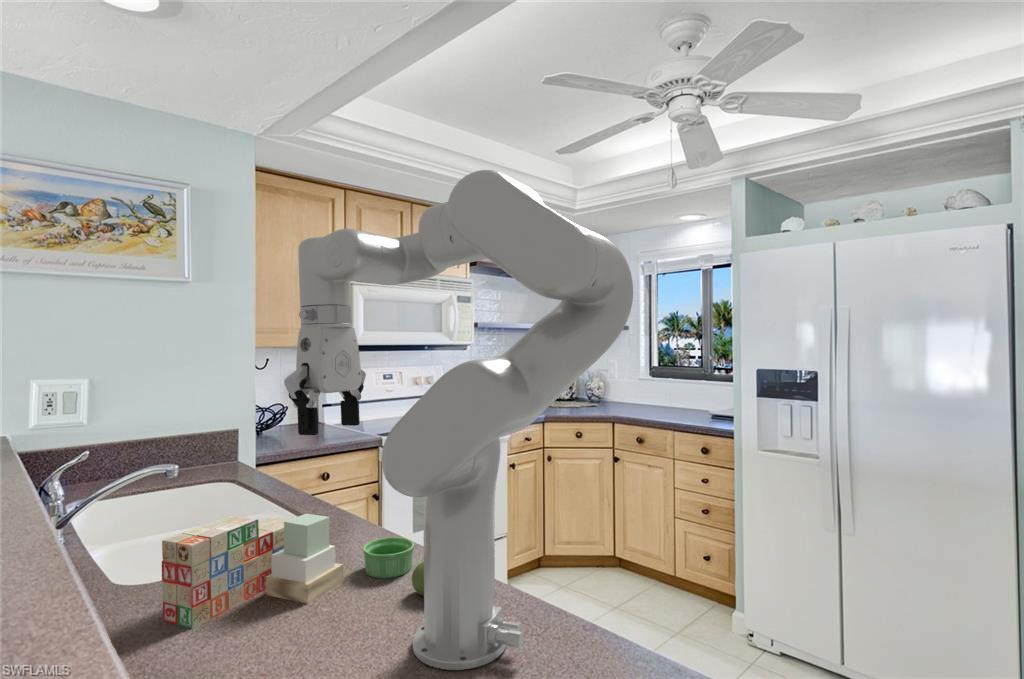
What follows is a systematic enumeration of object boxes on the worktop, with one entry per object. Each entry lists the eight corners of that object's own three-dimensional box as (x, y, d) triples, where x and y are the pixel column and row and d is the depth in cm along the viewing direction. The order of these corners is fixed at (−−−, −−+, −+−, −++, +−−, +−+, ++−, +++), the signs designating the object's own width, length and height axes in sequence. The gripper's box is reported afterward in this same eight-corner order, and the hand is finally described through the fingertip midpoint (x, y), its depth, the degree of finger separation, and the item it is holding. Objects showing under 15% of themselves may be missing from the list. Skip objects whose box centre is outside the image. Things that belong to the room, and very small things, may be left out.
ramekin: (398, 583, 95) (397, 557, 95) (352, 576, 98) (352, 551, 98) (423, 563, 104) (422, 539, 104) (380, 557, 107) (380, 534, 107)
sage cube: (329, 547, 95) (329, 517, 95) (307, 557, 90) (307, 525, 90) (306, 542, 97) (306, 513, 97) (283, 552, 92) (284, 521, 92)
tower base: (343, 584, 96) (343, 564, 96) (308, 607, 88) (307, 584, 88) (303, 577, 99) (303, 557, 99) (266, 598, 91) (266, 576, 91)
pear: (429, 551, 95) (477, 573, 90) (425, 581, 95) (473, 605, 90) (406, 562, 90) (456, 586, 85) (402, 593, 90) (451, 620, 85)
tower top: (335, 566, 95) (335, 545, 95) (305, 583, 89) (305, 561, 89) (302, 560, 98) (302, 540, 98) (271, 576, 91) (271, 554, 91)
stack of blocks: (273, 567, 103) (272, 499, 103) (300, 572, 100) (299, 503, 100) (161, 622, 83) (160, 538, 83) (191, 630, 81) (191, 544, 81)
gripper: (306, 315, 78) (310, 439, 78) (379, 319, 94) (383, 422, 94) (264, 318, 81) (268, 438, 80) (342, 322, 97) (346, 421, 96)
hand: (330, 429), depth 87 cm, fingers open, 9 cm apart
